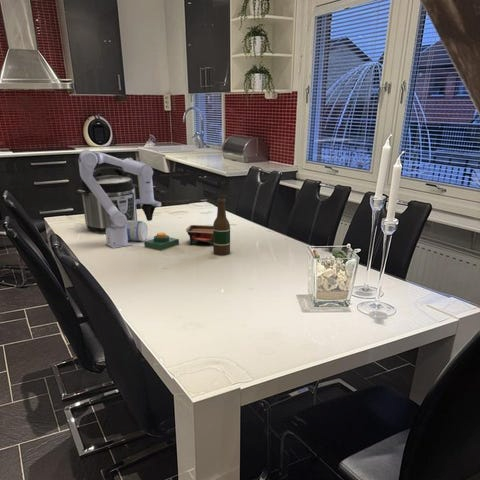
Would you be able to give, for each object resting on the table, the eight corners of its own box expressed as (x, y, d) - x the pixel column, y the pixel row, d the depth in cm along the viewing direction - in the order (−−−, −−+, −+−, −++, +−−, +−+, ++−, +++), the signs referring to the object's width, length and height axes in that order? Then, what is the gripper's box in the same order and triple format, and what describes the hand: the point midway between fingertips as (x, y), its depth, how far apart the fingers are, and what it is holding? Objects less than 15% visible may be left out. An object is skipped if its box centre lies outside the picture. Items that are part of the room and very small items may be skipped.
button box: (160, 250, 212) (160, 241, 210) (144, 247, 217) (143, 237, 215) (179, 244, 222) (178, 235, 220) (163, 241, 227) (162, 232, 225)
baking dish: (217, 251, 219) (220, 231, 215) (181, 243, 221) (183, 222, 217) (223, 246, 232) (227, 226, 228) (189, 238, 234) (192, 218, 230)
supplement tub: (142, 243, 224) (113, 242, 226) (149, 238, 232) (121, 236, 235) (139, 223, 219) (110, 222, 222) (147, 218, 228) (119, 217, 230)
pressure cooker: (80, 236, 234) (72, 170, 221) (85, 223, 259) (77, 164, 246) (141, 233, 241) (136, 169, 227) (140, 222, 266) (135, 163, 253)
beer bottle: (228, 255, 206) (228, 200, 196) (211, 254, 207) (210, 199, 197) (231, 251, 213) (232, 197, 203) (215, 250, 214) (214, 196, 204)
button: (161, 238, 216) (161, 235, 215) (155, 237, 217) (155, 233, 217) (167, 237, 219) (167, 233, 218) (161, 235, 221) (160, 232, 220)
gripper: (164, 191, 216) (166, 220, 222) (141, 188, 223) (144, 217, 229) (154, 193, 211) (156, 223, 216) (131, 190, 218) (133, 219, 223)
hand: (149, 220), depth 222 cm, fingers closed
